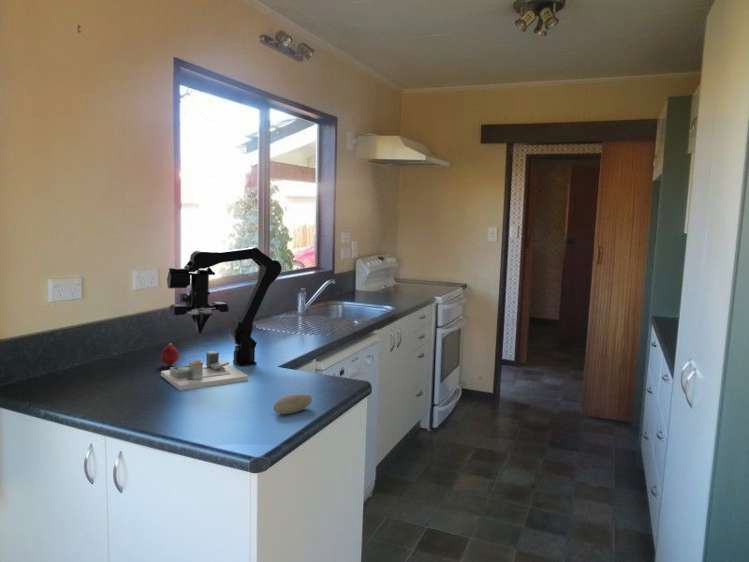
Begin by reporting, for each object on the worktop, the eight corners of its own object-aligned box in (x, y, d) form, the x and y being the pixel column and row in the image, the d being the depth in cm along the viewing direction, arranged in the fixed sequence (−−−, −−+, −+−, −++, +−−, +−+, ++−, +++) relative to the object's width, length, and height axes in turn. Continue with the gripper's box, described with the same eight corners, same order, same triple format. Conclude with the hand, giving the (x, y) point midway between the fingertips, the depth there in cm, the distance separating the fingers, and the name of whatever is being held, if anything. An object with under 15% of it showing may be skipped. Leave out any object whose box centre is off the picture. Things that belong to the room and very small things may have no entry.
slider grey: (215, 364, 194) (215, 350, 193) (218, 367, 191) (218, 352, 191) (205, 366, 192) (206, 351, 191) (209, 368, 189) (209, 353, 189)
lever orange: (199, 375, 180) (199, 360, 180) (202, 378, 178) (203, 362, 177) (189, 377, 178) (189, 361, 178) (192, 379, 176) (192, 363, 175)
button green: (188, 371, 184) (188, 366, 184) (193, 374, 181) (193, 369, 181) (175, 372, 182) (175, 367, 182) (179, 376, 178) (179, 371, 178)
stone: (266, 405, 153) (295, 383, 162) (275, 426, 154) (304, 403, 163) (280, 403, 149) (308, 381, 159) (289, 424, 150) (317, 401, 159)
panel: (225, 367, 198) (225, 357, 197) (247, 380, 184) (248, 369, 183) (161, 375, 185) (161, 364, 184) (179, 390, 170) (179, 379, 170)
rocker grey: (224, 361, 192) (224, 359, 192) (229, 364, 189) (228, 362, 189) (210, 366, 189) (210, 364, 189) (214, 369, 186) (214, 367, 186)
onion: (172, 369, 193) (172, 345, 192) (157, 367, 194) (157, 344, 193) (181, 364, 198) (182, 342, 197) (166, 363, 199) (167, 340, 199)
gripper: (217, 284, 205) (216, 326, 207) (164, 285, 194) (164, 331, 195) (229, 288, 196) (228, 332, 198) (175, 290, 185) (174, 337, 187)
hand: (199, 333), depth 195 cm, fingers closed
